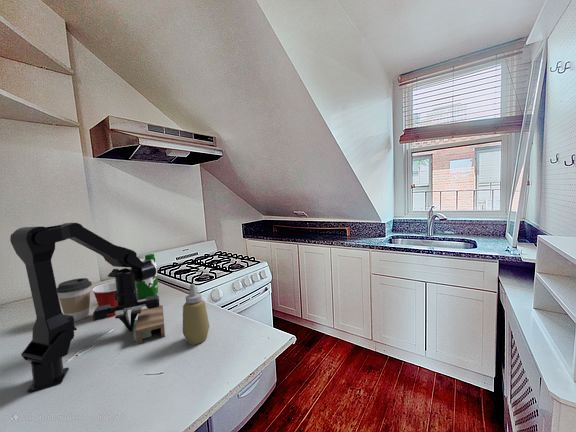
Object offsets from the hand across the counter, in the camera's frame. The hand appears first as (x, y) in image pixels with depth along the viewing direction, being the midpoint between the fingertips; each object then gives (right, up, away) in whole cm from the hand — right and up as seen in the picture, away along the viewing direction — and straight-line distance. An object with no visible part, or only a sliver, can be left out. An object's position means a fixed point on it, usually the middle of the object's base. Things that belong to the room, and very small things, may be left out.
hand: (130, 331), depth 87 cm
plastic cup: (-19, -1, +17) cm, 26 cm away
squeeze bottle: (+25, 0, -6) cm, 26 cm away
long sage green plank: (+3, -1, +2) cm, 4 cm away
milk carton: (-15, 0, +38) cm, 40 cm away
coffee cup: (-32, -2, +16) cm, 36 cm away
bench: (+6, -1, +3) cm, 6 cm away
